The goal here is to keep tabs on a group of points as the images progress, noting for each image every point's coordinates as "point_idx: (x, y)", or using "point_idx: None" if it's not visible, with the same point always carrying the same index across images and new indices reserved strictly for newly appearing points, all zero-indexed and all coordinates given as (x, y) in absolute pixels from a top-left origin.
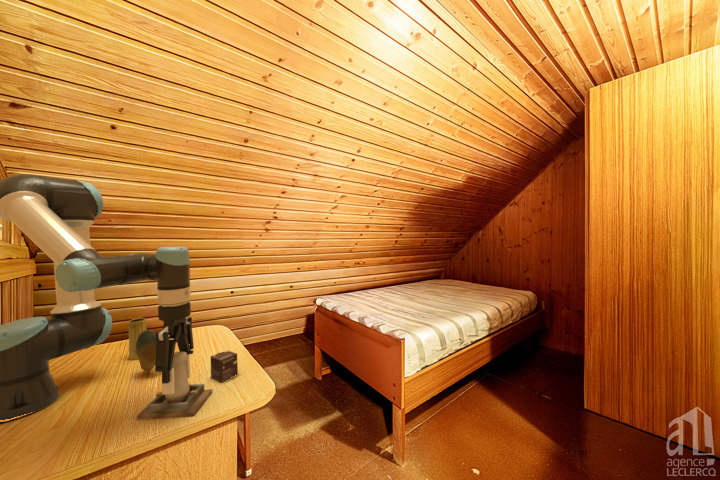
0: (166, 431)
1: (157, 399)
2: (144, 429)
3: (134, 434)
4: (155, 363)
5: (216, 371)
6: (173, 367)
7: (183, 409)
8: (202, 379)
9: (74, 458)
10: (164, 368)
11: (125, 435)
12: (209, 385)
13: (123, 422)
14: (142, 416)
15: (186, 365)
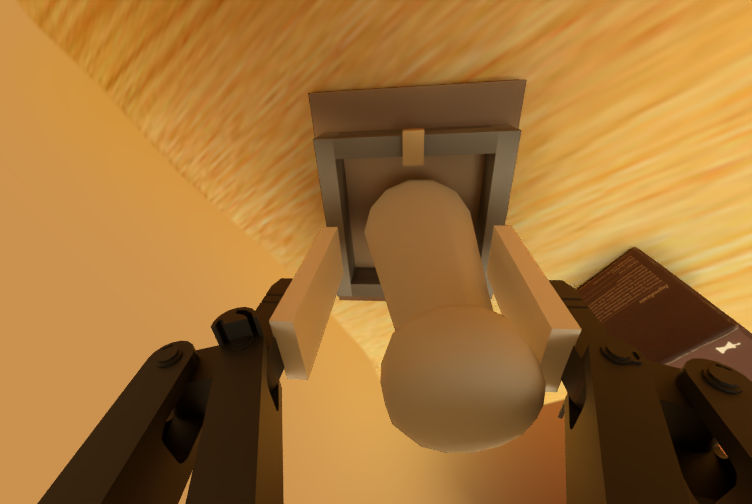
0: (267, 248)
1: (373, 157)
2: (263, 171)
3: (234, 152)
4: (104, 417)
5: (613, 309)
6: (399, 317)
7: None
8: (638, 212)
9: (74, 5)
10: (175, 416)
11: (222, 120)
12: (553, 265)
13: (289, 33)
14: (314, 119)
15: (508, 319)
